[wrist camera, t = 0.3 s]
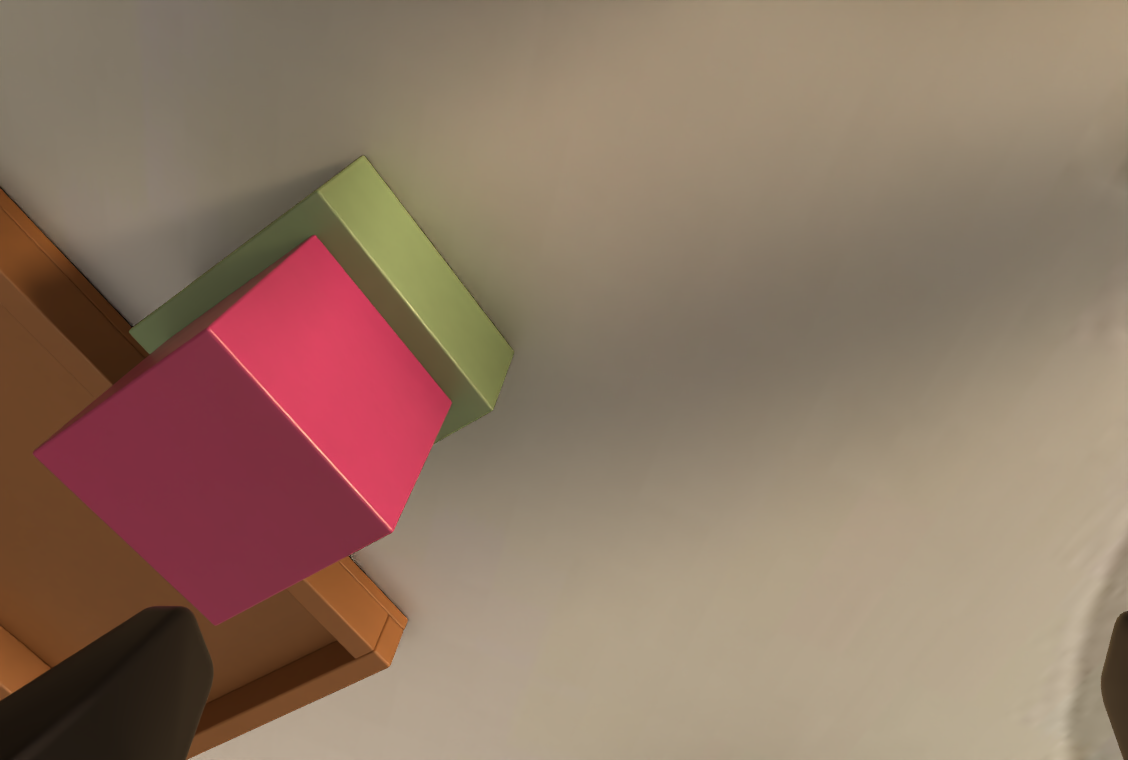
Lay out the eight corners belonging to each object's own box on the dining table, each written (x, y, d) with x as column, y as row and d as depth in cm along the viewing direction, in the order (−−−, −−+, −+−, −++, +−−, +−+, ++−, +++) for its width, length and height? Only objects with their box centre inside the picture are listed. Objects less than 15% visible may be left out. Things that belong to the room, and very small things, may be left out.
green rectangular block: (515, 352, 23) (493, 410, 21) (344, 452, 26) (303, 518, 23) (364, 153, 21) (316, 189, 18) (191, 282, 23) (126, 332, 21)
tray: (409, 619, 28) (390, 667, 27) (144, 746, 33) (113, 794, 31) (-103, 78, 22) (-175, 92, 20) (-344, 335, 26) (-420, 366, 25)
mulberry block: (453, 402, 21) (394, 532, 16) (304, 488, 22) (214, 627, 18) (315, 232, 19) (206, 327, 14) (166, 340, 21) (29, 453, 16)
